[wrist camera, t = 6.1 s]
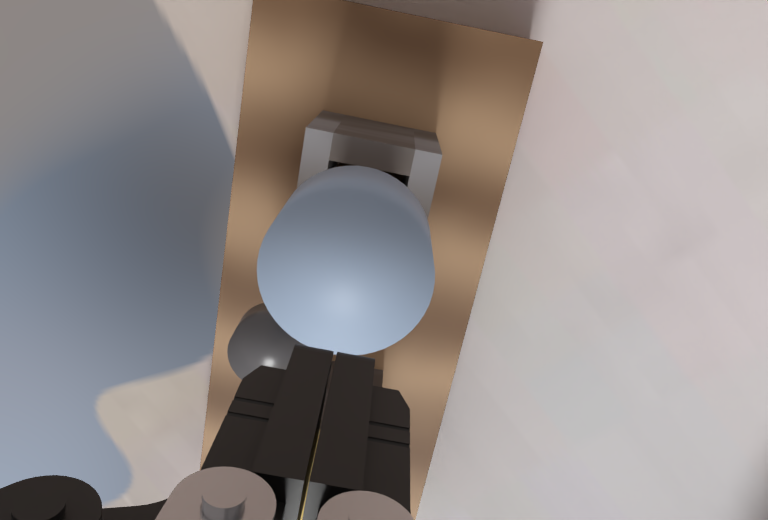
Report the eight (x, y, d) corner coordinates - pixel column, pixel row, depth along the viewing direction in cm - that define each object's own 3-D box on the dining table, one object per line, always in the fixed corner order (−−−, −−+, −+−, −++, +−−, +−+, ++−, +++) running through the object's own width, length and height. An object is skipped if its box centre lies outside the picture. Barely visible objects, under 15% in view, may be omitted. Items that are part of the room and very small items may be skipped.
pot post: (267, 253, 30) (231, 312, 24) (330, 265, 30) (311, 327, 24) (259, 310, 31) (223, 381, 25) (320, 321, 31) (299, 395, 25)
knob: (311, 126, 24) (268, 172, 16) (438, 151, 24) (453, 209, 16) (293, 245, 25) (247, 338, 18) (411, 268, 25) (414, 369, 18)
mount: (270, -14, 28) (221, -29, 21) (529, 40, 29) (573, 45, 21) (213, 456, 37) (164, 564, 30) (411, 492, 38) (413, 606, 30)
